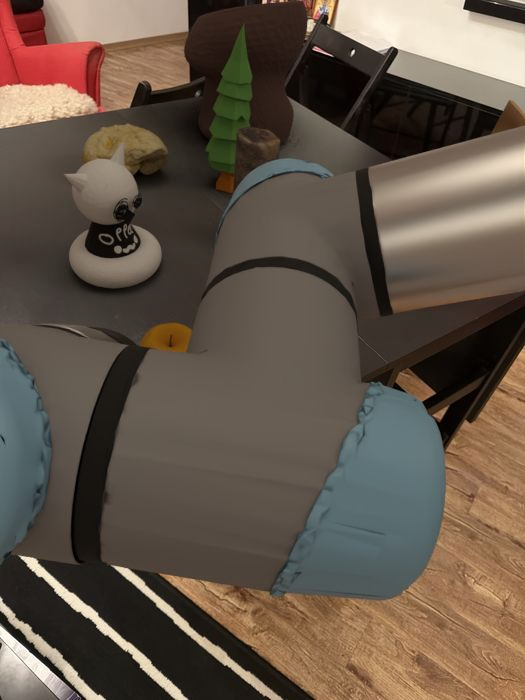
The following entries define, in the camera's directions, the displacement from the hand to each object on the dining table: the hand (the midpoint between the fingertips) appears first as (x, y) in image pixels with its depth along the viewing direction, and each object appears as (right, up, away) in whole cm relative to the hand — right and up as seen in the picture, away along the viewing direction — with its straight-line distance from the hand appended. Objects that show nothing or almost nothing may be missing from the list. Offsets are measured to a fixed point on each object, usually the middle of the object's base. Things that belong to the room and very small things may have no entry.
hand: (149, 367), depth 48 cm
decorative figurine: (-13, +16, +34) cm, 39 cm away
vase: (+5, +58, +76) cm, 96 cm away
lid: (+47, +29, +26) cm, 61 cm away
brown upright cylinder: (+9, +22, +43) cm, 49 cm away
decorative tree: (+3, +37, +56) cm, 67 cm away
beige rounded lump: (-17, +39, +54) cm, 69 cm away
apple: (-1, -3, +18) cm, 18 cm away
